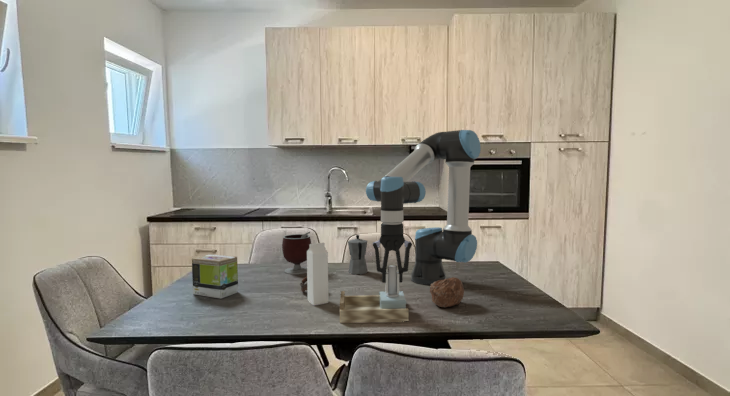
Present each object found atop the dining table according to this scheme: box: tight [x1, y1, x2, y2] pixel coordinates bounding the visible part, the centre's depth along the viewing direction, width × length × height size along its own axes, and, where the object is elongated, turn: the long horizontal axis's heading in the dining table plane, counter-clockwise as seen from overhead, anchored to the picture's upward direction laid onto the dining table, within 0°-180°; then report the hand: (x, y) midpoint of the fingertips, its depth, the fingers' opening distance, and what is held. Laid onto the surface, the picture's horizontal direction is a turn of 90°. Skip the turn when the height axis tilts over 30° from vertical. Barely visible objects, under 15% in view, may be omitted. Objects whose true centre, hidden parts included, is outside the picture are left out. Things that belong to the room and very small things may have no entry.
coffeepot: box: [347, 234, 368, 275], centre depth 185 cm, size 15×9×18 cm, turn 9°
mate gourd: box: [281, 231, 312, 275], centre depth 189 cm, size 16×14×20 cm
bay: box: [339, 290, 410, 324], centre depth 134 cm, size 22×18×6 cm
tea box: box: [191, 253, 239, 299], centre depth 156 cm, size 15×10×15 cm, turn 65°
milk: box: [306, 242, 329, 306], centre depth 144 cm, size 6×6×22 cm
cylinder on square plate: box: [378, 265, 408, 309], centre depth 132 cm, size 8×10×15 cm
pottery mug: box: [299, 276, 307, 293], centre depth 158 cm, size 12×10×8 cm
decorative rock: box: [429, 276, 465, 308], centre depth 140 cm, size 13×11×10 cm
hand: (392, 291), depth 132 cm, fingers closed on cylinder on square plate, 3 cm apart
